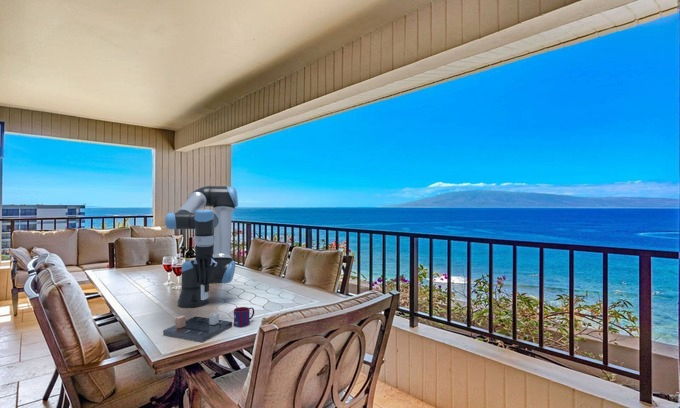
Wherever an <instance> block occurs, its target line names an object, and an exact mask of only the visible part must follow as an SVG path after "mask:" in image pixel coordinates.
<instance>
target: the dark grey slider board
mask: <svg viewBox="0 0 680 408" xmlns="http://www.w3.org/2000/svg"><path fill="white" fill-rule="evenodd" d="M231 328H233V321H229V320H223V319H219V323H217V324H215V325H211V324H209V317H203V316H196V315H195V316H194V317H191V318H189V319H186V326H184V327H182V328H175V324H174V325H173V326H170V327H168V328H165V329H163V331H162V333H163V334H162V336H166V337H171V338H177V339H182V340H187V341H192V340H193V342H199V343H205V342H206V341H208V340H210V339H212V338H213V337H216V336H217V335H219V334H221V333H223V332H225V331H226V330H228V329H231Z"/></svg>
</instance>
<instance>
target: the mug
mask: <svg viewBox="0 0 680 408" xmlns="http://www.w3.org/2000/svg"><path fill="white" fill-rule="evenodd" d="M250 310H252V312H251V315H250ZM254 316H255V308H254V307H248V306H238V307H236V308H234V309H233V326H234V327H235V328H243V327H244V328H245V327H247V326H249V325H250V320H251V319H252V318H253V317H254Z"/></svg>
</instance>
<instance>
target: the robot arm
mask: <svg viewBox="0 0 680 408" xmlns="http://www.w3.org/2000/svg"><path fill="white" fill-rule="evenodd" d="M238 206H239V199H238V192H237V189H236V187H234V186H228V185H225V186H224V185H223V186H219V185H218V186H214V185H205V186H202V187H199V188H197V189H195V190H193V191H192V192H191V193H190V194H189V195H188V197H187V200H186V201H185V202H184V203H183V204H182V206H180V208H179V209H178V210H177V211H176V212H173V211H172V212H168V213H167V214H166V215H165V218H164V219H165V221H164V223H165V227H166V229H168V230H176V231H177V230H194V245H195V246H194V253H195V254H194V255H195V258H194V259H190V260H187V261H184V262H183V263H182V264H181V291H180V293H179V297H178V300H177V307H180V308H185V309H189V308H198V307H202V306H206V305H207V304H208V303H209V301H210V299H209V292H210V284H229V283H232V281H233V278H234V275H235V273H236V272H235V271H236V261H235V260H233V257H232V256H231V237H232V236H231V235H232V217H233V216H232V215H233V214H232V213H233V212H234V211H235V209H236V207H238ZM204 207H208V208H209V207H211V208H212V209H203V208H204Z"/></svg>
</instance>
